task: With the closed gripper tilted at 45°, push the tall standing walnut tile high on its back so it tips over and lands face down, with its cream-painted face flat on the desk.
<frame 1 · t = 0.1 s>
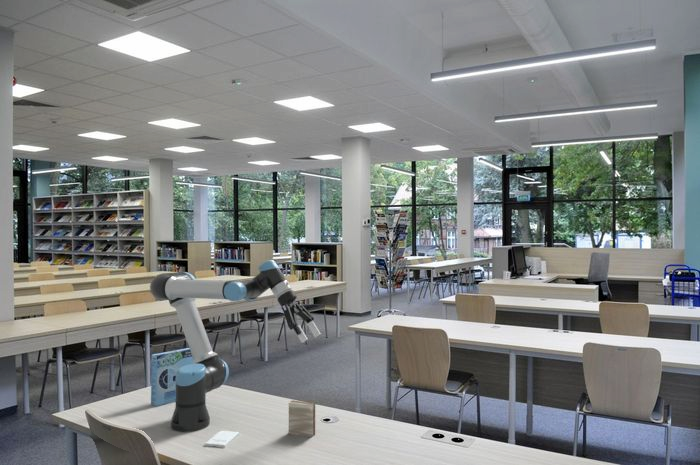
hand: (311, 338, 199), 36 cm above the table, tool tilted 35°, fingers open, 13 cm apart
external hard drive: (222, 442, 186), on the table
gum box: (172, 401, 232), on the table
walnut tile: (301, 434, 192), on the table
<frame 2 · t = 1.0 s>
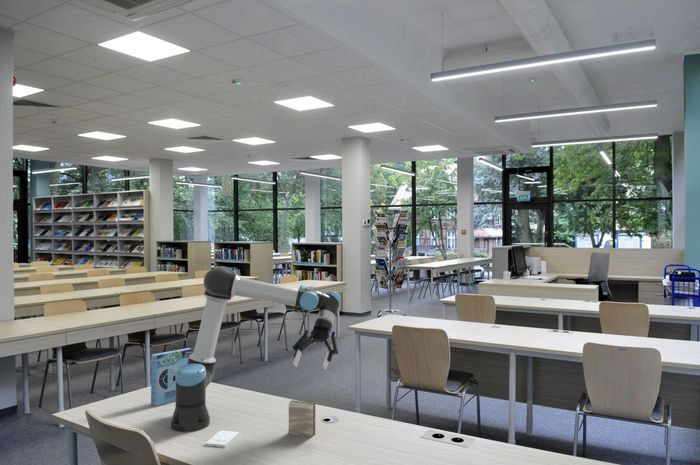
hand: (309, 366, 199), 24 cm above the table, tool tilted 45°, fingers open, 12 cm apart
nothing on the table moved.
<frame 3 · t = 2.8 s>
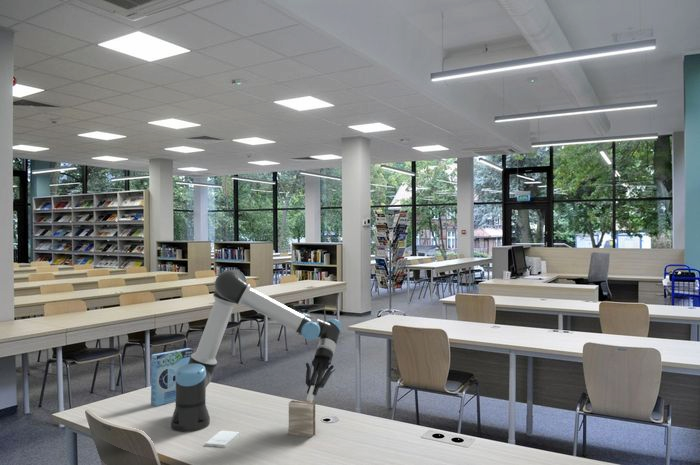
hand: (308, 402, 198), 10 cm above the table, tool tilted 45°, fingers closed
nothing on the table moved.
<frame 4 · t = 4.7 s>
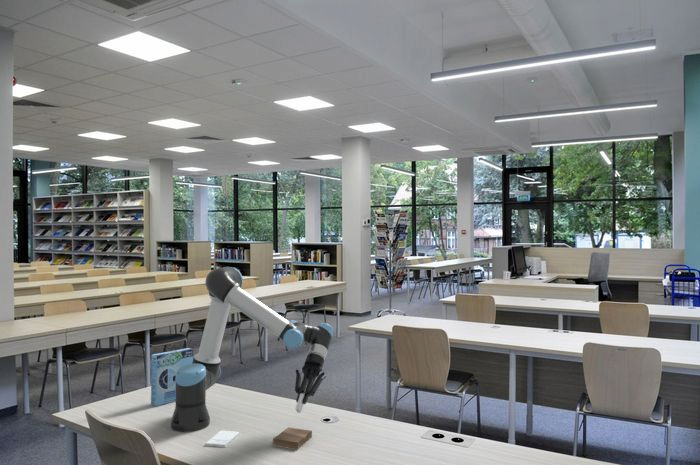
hand: (298, 410, 189), 10 cm above the table, tool tilted 45°, fingers closed
walnut tile: (300, 432, 190), point 1 cm above the table, tilted 90°
everything else where it was.
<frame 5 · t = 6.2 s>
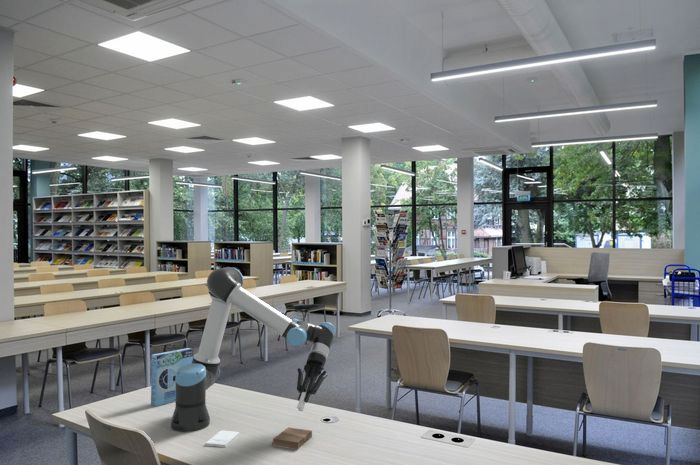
hand: (299, 409, 190), 10 cm above the table, tool tilted 45°, fingers closed
nothing on the table moved.
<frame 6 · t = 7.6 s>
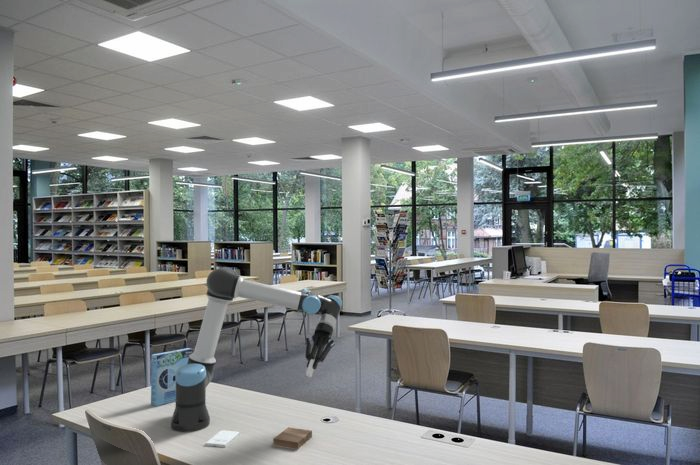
hand: (308, 375, 198), 21 cm above the table, tool tilted 45°, fingers closed
nothing on the table moved.
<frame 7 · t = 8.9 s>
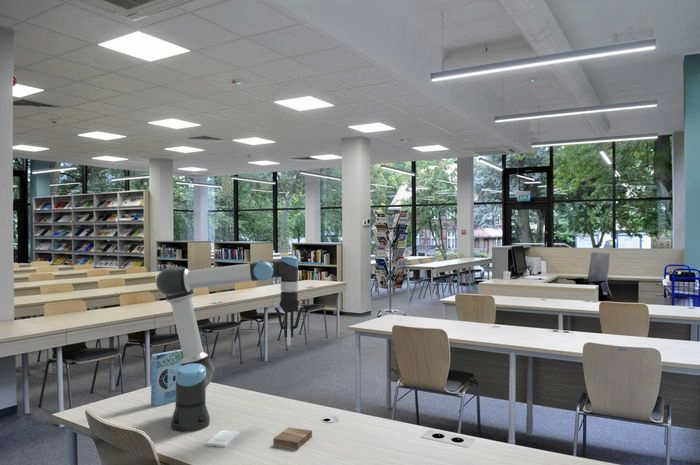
hand: (288, 344, 218), 29 cm above the table, tool pointing down, fingers closed
nothing on the table moved.
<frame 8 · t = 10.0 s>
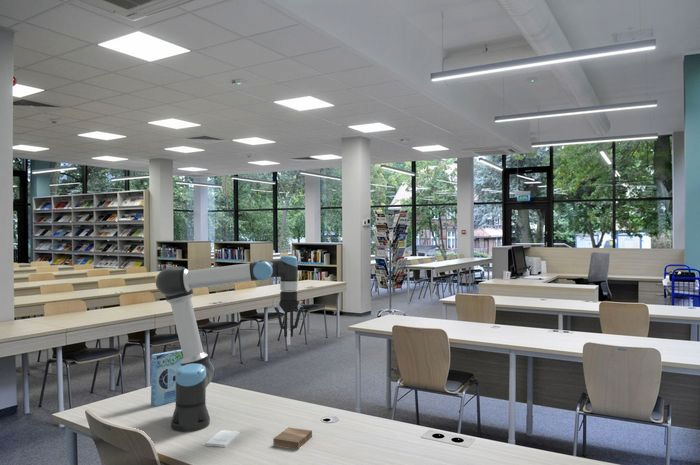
hand: (288, 344, 218), 29 cm above the table, tool pointing down, fingers closed
nothing on the table moved.
at the end: walnut tile tilted 90°; walnut tile inside the target area (0.4 cm from its centre), point 1.0 cm above the table; the gripper is holding nothing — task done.
